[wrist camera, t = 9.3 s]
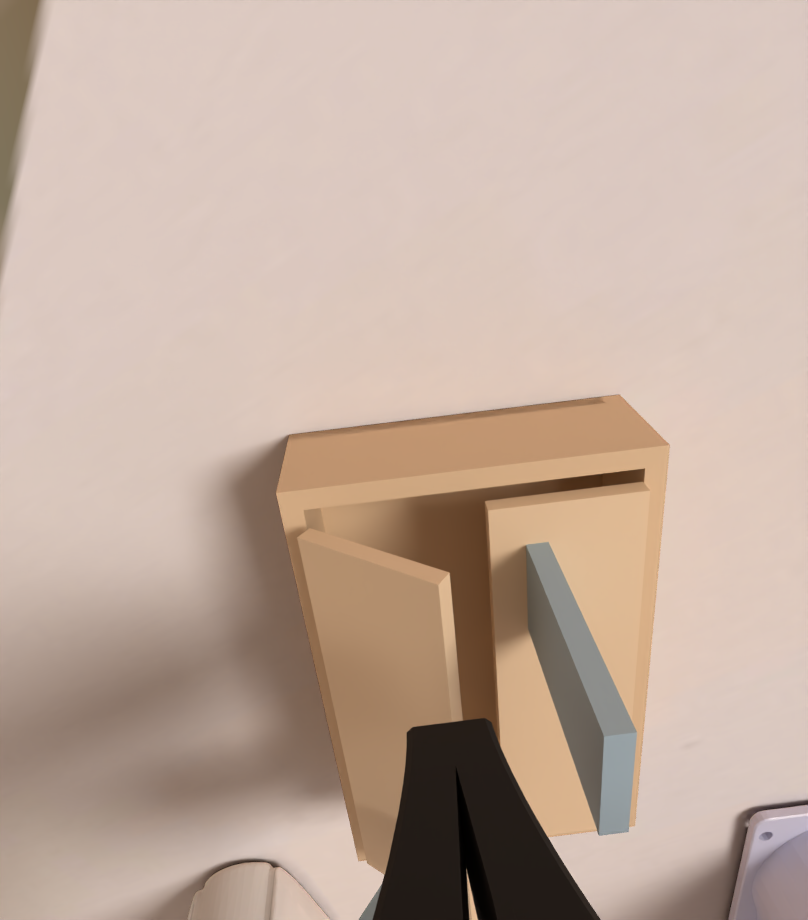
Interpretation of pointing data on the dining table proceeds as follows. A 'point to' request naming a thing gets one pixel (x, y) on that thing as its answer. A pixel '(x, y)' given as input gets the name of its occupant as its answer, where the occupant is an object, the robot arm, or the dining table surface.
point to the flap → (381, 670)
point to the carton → (466, 515)
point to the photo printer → (253, 896)
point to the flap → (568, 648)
